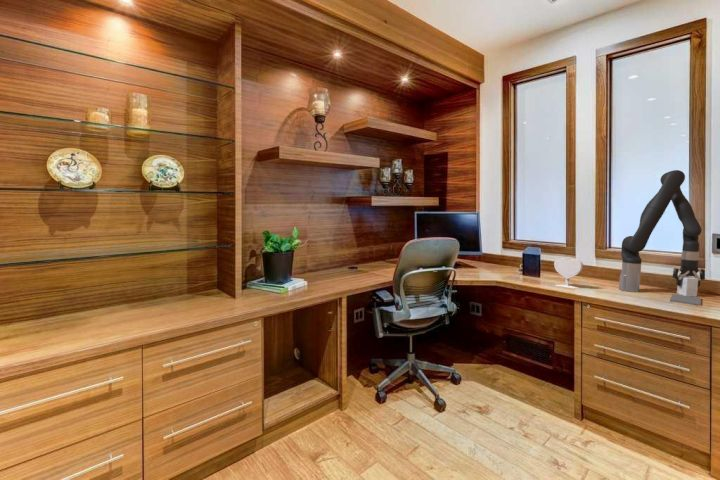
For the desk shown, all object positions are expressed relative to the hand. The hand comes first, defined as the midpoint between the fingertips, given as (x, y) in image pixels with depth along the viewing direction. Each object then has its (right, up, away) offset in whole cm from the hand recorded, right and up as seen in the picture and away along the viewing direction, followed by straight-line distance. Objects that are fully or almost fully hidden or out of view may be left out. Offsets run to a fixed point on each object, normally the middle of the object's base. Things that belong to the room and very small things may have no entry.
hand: (687, 286), depth 206 cm
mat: (-12, -6, -12) cm, 18 cm away
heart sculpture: (-59, -3, +20) cm, 62 cm away
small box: (-1, -5, 0) cm, 5 cm away
